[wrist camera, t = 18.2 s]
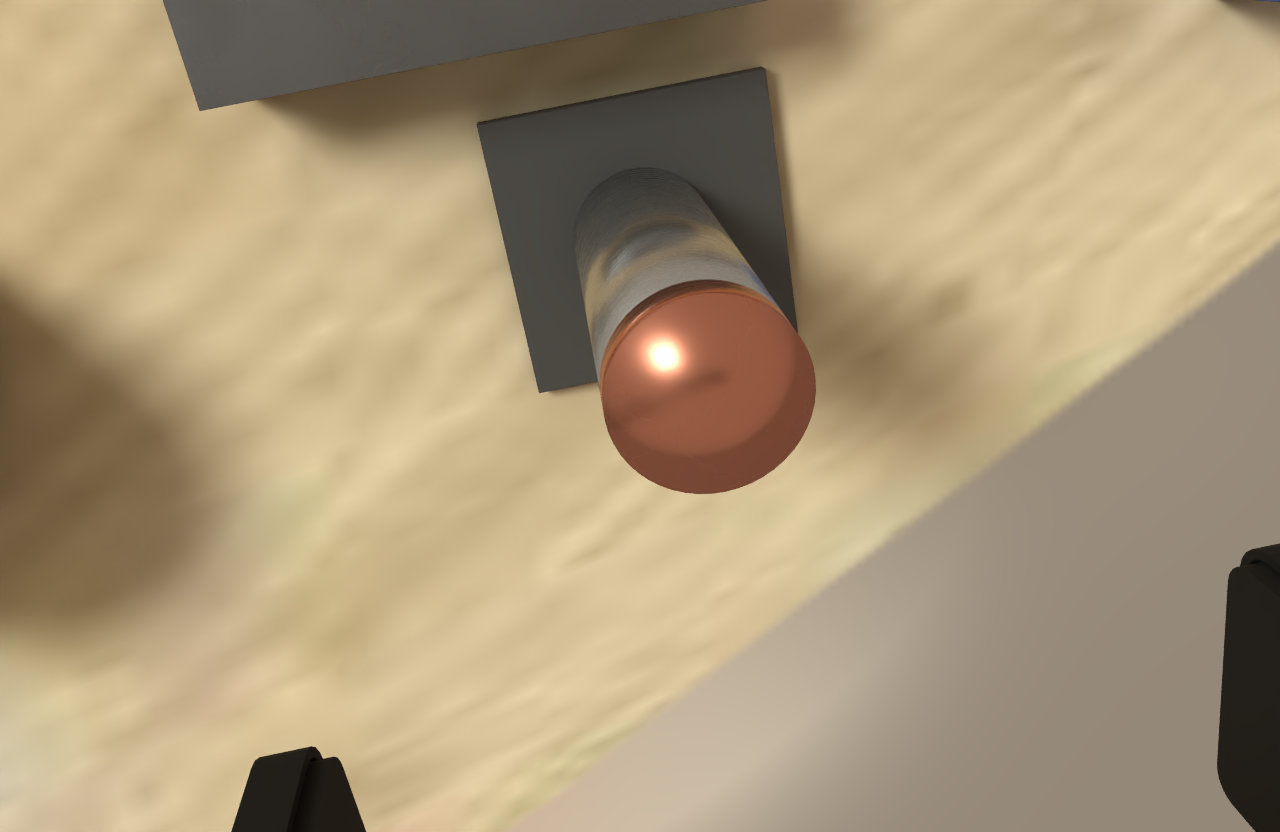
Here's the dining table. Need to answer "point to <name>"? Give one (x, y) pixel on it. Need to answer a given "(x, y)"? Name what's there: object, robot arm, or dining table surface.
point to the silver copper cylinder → (686, 339)
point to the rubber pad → (610, 143)
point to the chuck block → (377, 37)
